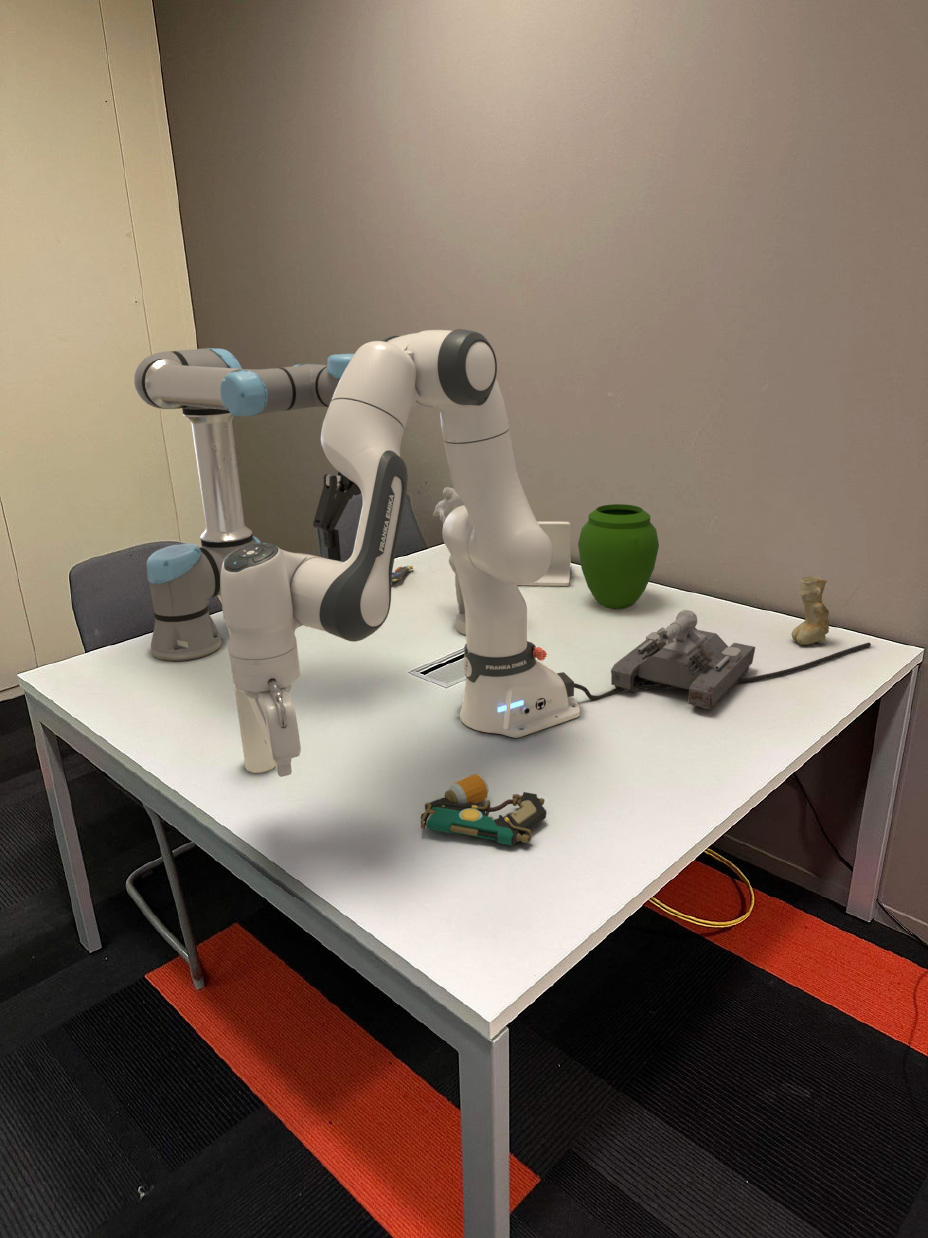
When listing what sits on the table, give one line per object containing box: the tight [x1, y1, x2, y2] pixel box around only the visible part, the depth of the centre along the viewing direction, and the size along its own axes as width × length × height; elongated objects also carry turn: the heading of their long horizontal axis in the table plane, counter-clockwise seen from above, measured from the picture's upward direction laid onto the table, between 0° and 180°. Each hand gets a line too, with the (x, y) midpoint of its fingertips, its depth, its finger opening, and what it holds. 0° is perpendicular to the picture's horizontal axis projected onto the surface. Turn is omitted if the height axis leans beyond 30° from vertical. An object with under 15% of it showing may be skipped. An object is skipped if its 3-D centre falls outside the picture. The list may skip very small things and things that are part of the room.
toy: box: [610, 609, 756, 711], centre depth 169 cm, size 25×20×15 cm
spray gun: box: [420, 773, 547, 846], centre depth 126 cm, size 4×17×15 cm
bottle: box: [234, 685, 276, 774], centre depth 141 cm, size 5×5×21 cm
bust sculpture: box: [432, 486, 466, 636], centre depth 200 cm, size 16×24×35 cm
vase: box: [577, 503, 660, 610], centre depth 210 cm, size 20×20×24 cm
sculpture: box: [791, 575, 830, 646], centre depth 185 cm, size 6×7×15 cm
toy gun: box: [391, 565, 414, 583], centre depth 238 cm, size 3×19×10 cm
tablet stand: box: [517, 521, 572, 587], centre depth 236 cm, size 18×25×17 cm
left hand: (363, 555), depth 163 cm, fingers open, 13 cm apart
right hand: (277, 757), depth 118 cm, fingers open, 8 cm apart
